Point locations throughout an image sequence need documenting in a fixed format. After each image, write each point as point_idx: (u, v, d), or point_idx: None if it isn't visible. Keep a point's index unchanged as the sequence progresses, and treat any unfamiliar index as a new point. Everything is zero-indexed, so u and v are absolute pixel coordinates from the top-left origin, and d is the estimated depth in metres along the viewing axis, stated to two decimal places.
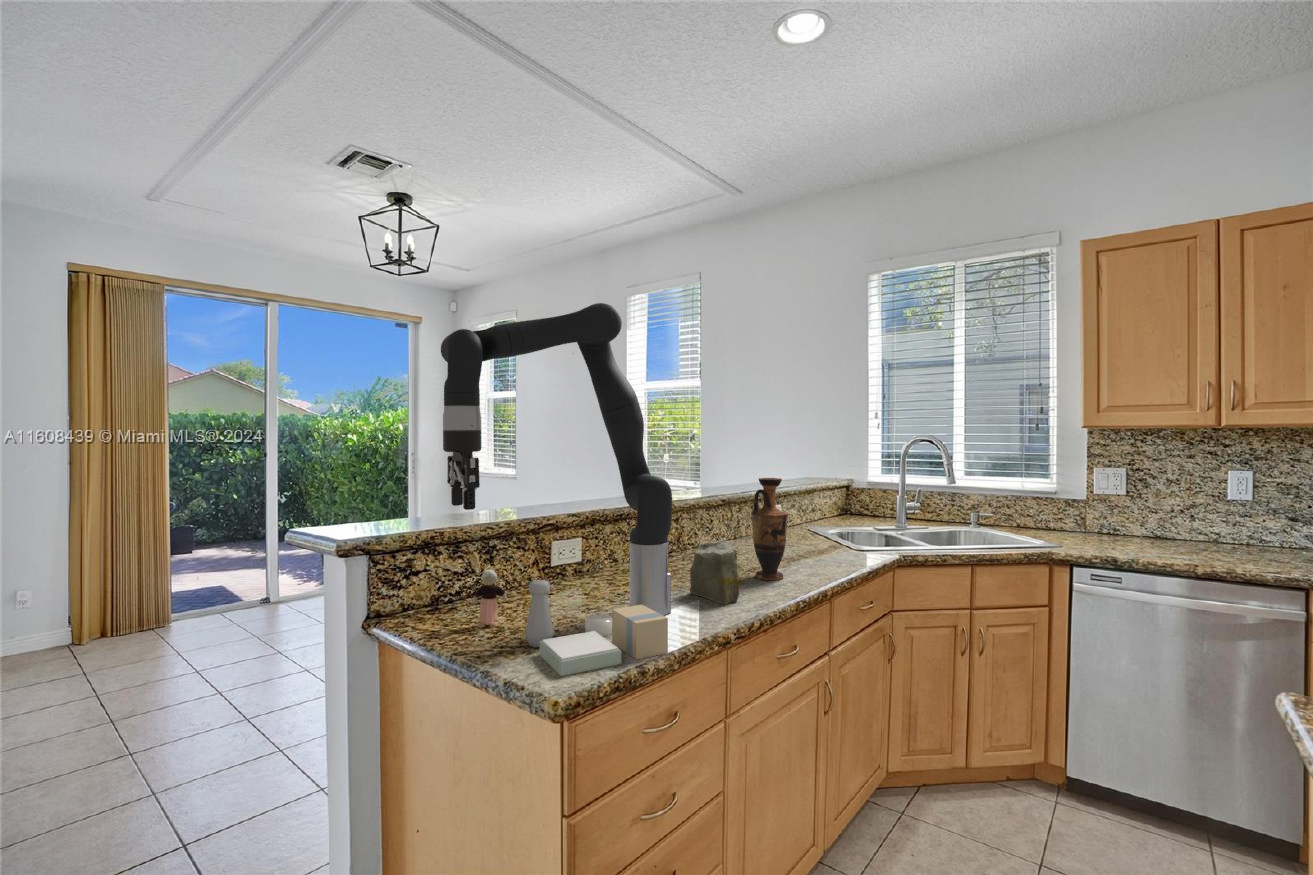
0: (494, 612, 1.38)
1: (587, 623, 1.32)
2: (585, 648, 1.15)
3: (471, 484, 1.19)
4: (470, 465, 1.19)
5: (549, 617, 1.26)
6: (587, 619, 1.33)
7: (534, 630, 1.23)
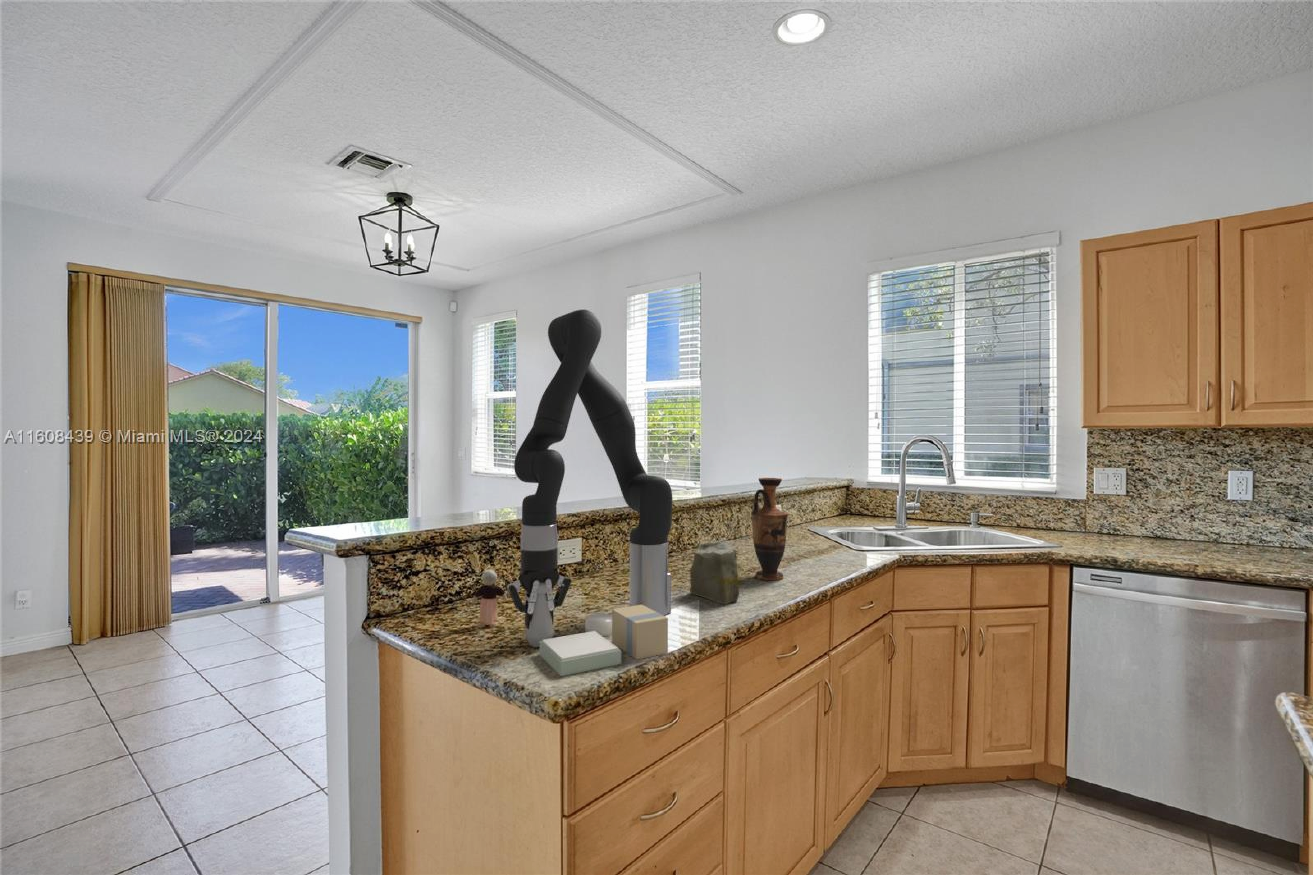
0: (494, 612, 1.38)
1: (589, 623, 1.31)
2: (585, 648, 1.15)
3: None
4: None
5: (550, 617, 1.26)
6: (587, 619, 1.33)
7: (534, 630, 1.23)
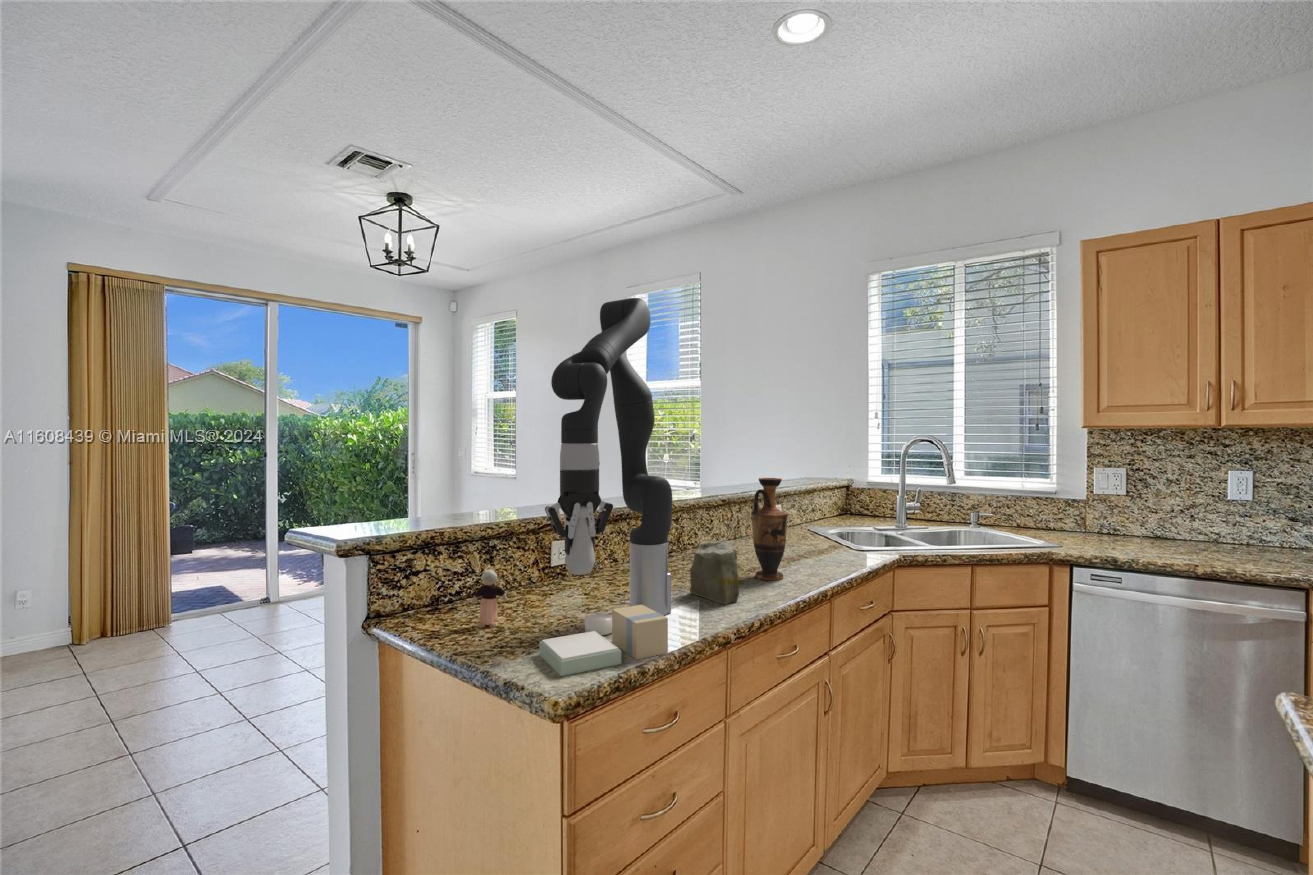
0: (494, 612, 1.38)
1: (594, 623, 1.31)
2: (585, 648, 1.15)
3: None
4: None
5: (591, 543, 1.17)
6: (589, 620, 1.32)
7: (575, 556, 1.15)
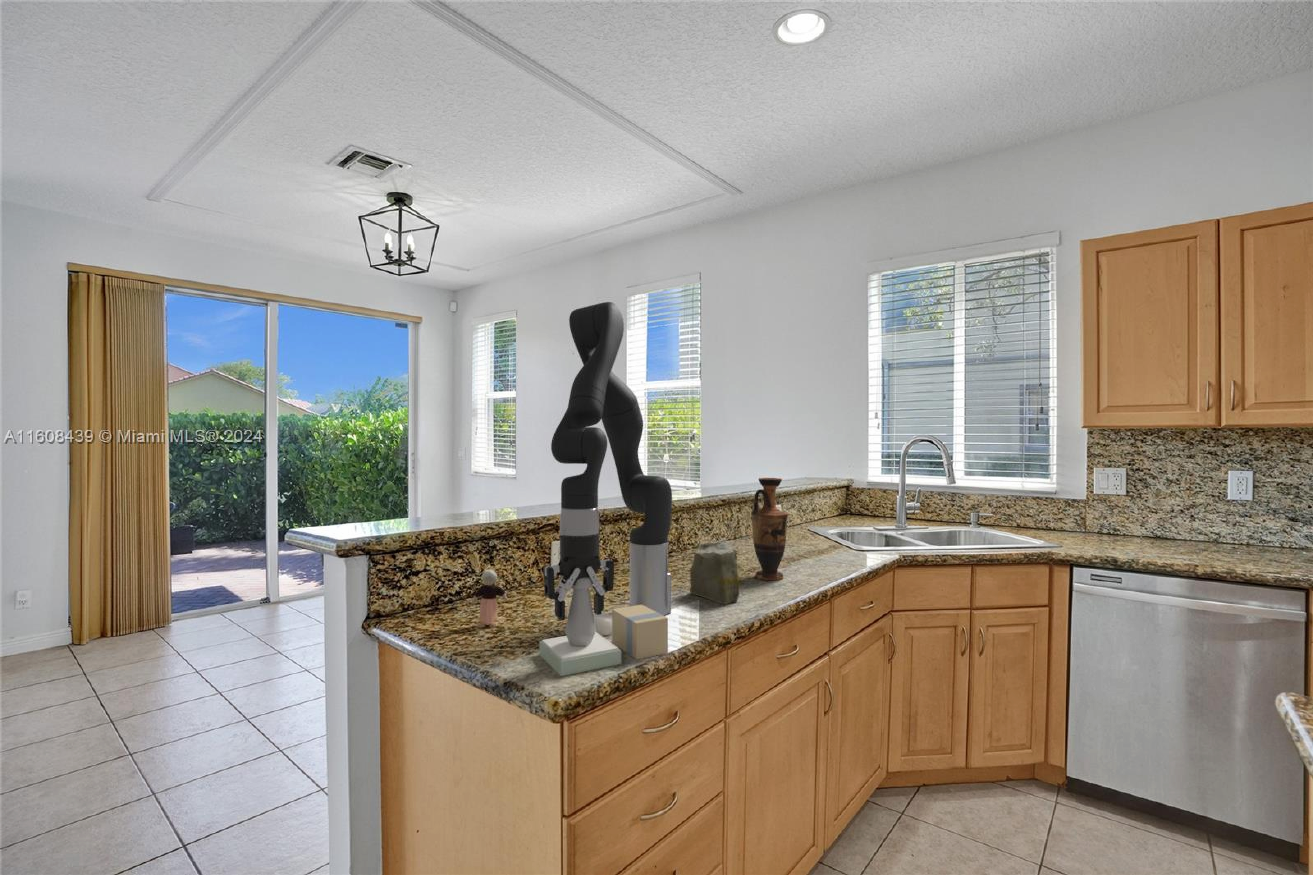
0: (494, 612, 1.38)
1: (607, 622, 1.31)
2: (585, 648, 1.15)
3: None
4: None
5: (591, 614, 1.17)
6: (600, 620, 1.31)
7: (576, 627, 1.15)
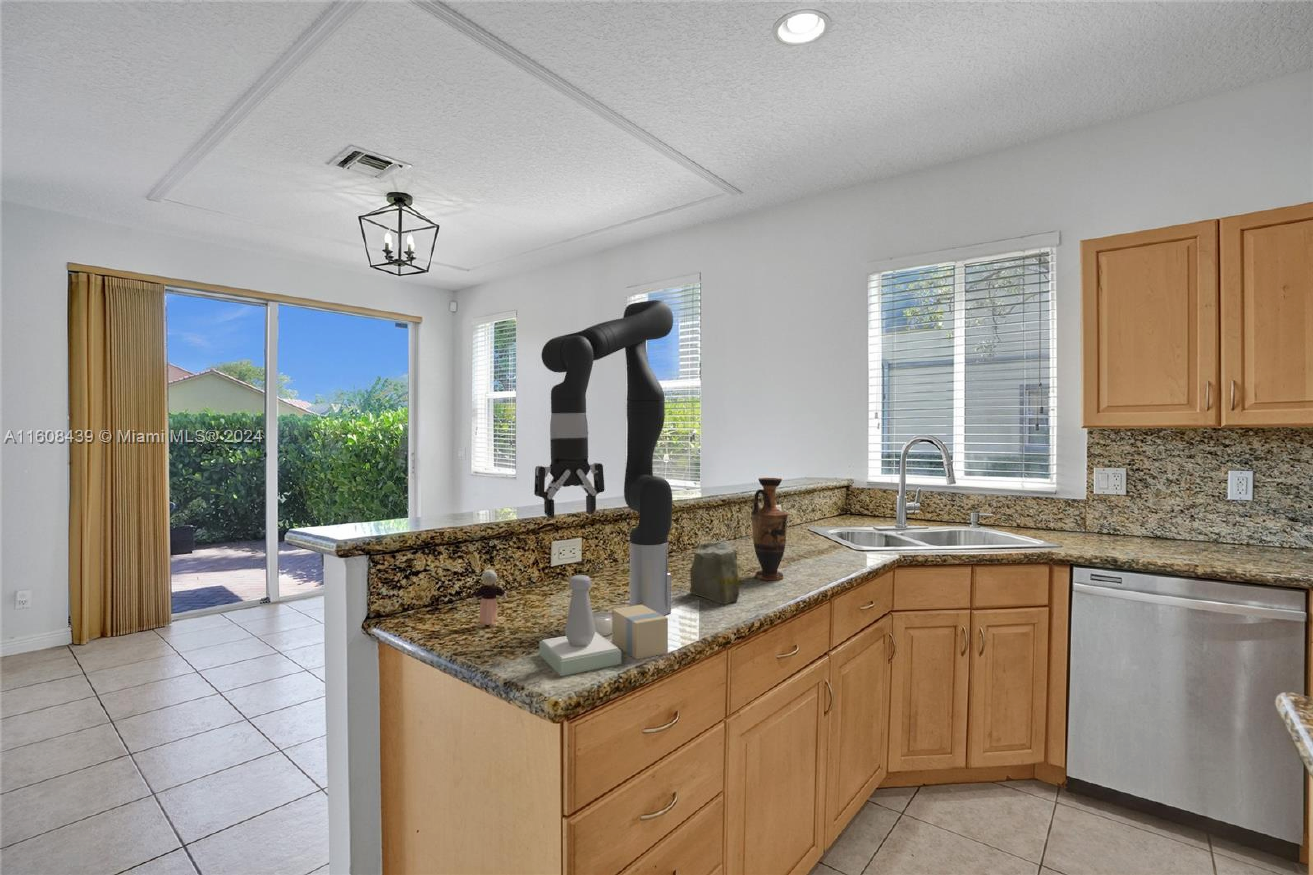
0: (494, 612, 1.38)
1: None
2: (585, 648, 1.15)
3: None
4: None
5: (591, 614, 1.17)
6: (605, 620, 1.31)
7: (575, 628, 1.15)
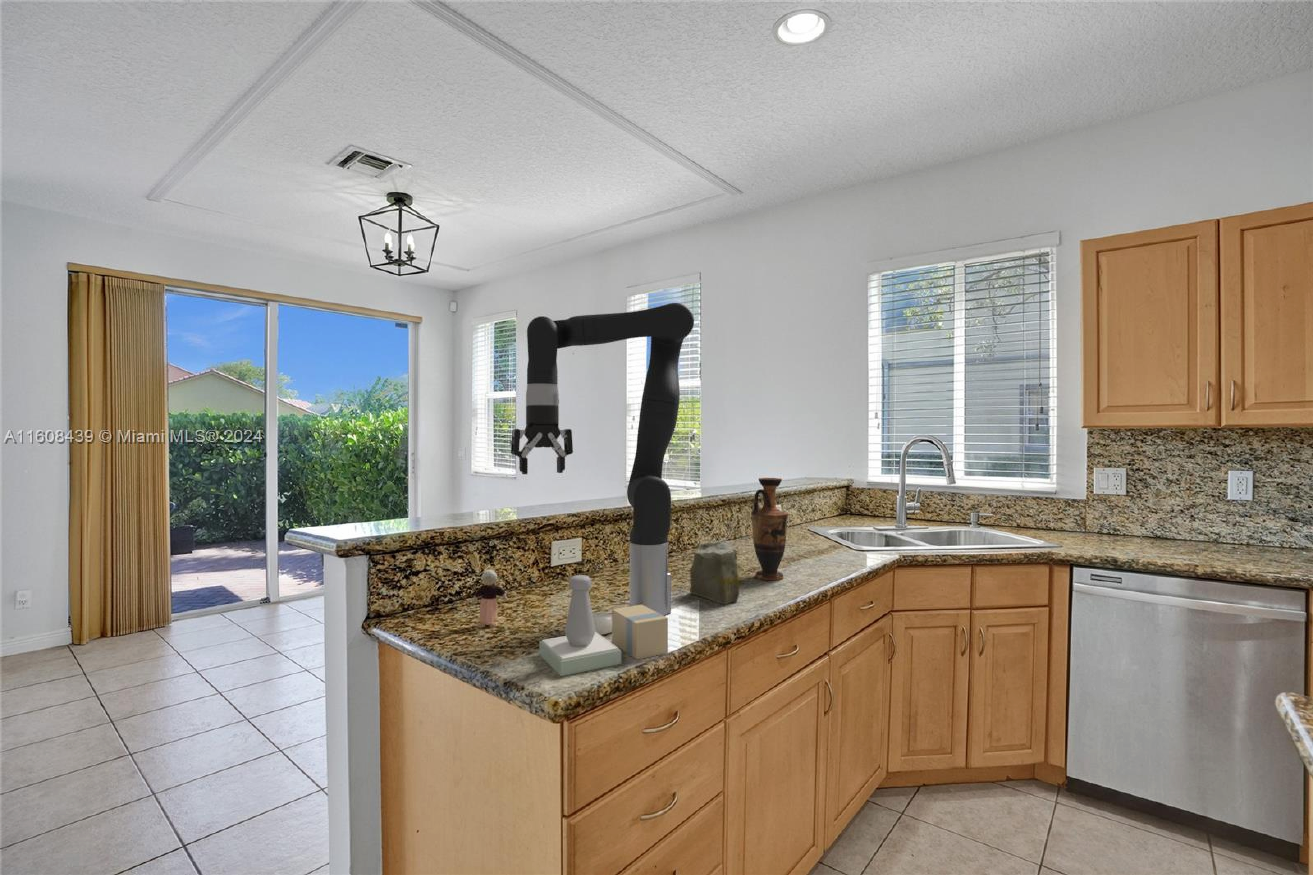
0: (494, 612, 1.38)
1: None
2: (585, 648, 1.15)
3: None
4: None
5: (591, 614, 1.17)
6: (610, 616, 1.34)
7: (575, 628, 1.15)
